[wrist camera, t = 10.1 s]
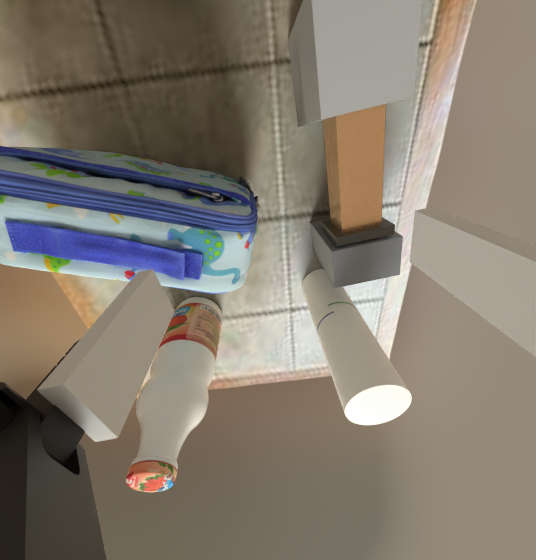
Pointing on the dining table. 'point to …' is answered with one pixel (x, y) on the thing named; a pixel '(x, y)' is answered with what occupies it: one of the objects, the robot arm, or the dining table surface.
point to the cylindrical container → (354, 355)
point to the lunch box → (125, 218)
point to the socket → (357, 257)
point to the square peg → (355, 176)
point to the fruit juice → (175, 392)
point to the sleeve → (353, 55)
